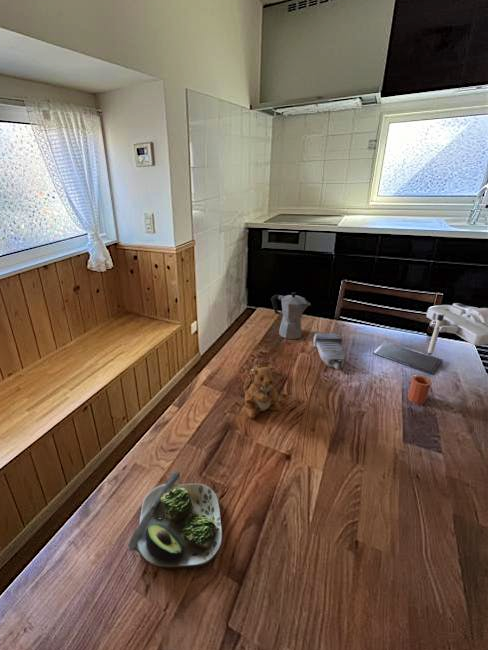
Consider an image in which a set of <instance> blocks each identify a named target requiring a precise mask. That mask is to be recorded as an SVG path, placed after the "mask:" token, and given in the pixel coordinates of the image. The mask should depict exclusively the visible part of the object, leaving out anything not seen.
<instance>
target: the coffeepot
mask: <svg viewBox="0 0 488 650" xmlns="http://www.w3.org/2000/svg"><path fill="white" fill-rule="evenodd" d="M296 294H297V293H296V292H294V291H293V292H292V291H291V294H287V295H282V294H281V295H280V294H274V295H273V296H272V297H270V301H271V304H272V307H273V312H274V313H275V314H276V315H280V314H282V318H281V323H280V326H279V330H278V335H279V336H280V337H282V338H283V337H284V339H286V340H298V339H300V338H302V337H303V335H302V322H301V318H302V317H303V314H304V311H305V310H306V309H307V308H308V307H309V306H310V307H311V302H309V301H308V300H306V298H305V297H302V296H300V295H296ZM277 300H278V301H280V302H281V311H282V313H281V311H278V306H277Z"/></svg>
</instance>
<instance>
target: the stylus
mask: <svg viewBox="0 0 488 650" xmlns="http://www.w3.org/2000/svg"><path fill="white" fill-rule="evenodd" d="M443 318H444V313H439V314H438V318H437V321H436V325H435V328H433V332H432V335H431V339H430V342H429V346H428V350H427V353H428V354H427V355H430V356H432V354H434V351H435V348H436V344H437V341H438V337H439V334H440V331H438V330H437V326H438V325H441V324H442V321H443Z"/></svg>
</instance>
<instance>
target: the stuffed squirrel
mask: <svg viewBox="0 0 488 650" xmlns="http://www.w3.org/2000/svg"><path fill="white" fill-rule="evenodd" d="M274 368H275V367H274V365H270V366H269V367H268V366H264V365H262V364H260V363H259V364H255V365H254V366H253V367H252V369H251V370H250V371H249V373H248V375H247V377H246V378H245V381H244V382H243V392H244V407H245V412H246V414H247V415H248V417H249V418H250V419H255V418H256V417H257V416H258V414H259V413H260V412H264V411H266V410H267V409H268V410H270V411H279V412H280V411H281V410H282V406H281V405H280V404H279V399H280V397H279V394H278V392H277V391H276V389H275V387H273V386H274V385H276V386H278V385H280V383H279V382H278V381H275V380H274V376H273V372H272V371H273V370H274Z"/></svg>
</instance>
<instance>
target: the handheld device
mask: <svg viewBox="0 0 488 650" xmlns="http://www.w3.org/2000/svg"><path fill="white" fill-rule="evenodd" d="M312 341H313V348H314V349H317V353H318V355H319V357H320V359H321V360H322V362H323V364H325V365H326V366H327V367H328V368H334V369H335V370H337V371H340V370H341V369H342V368H344V367H345V365H346V363H347V352H346V351H345V348H344V346H343V345H342V344H343V338H342V337H341V335H339V334H336V333H325V332H324V333H322V332H321V333H319V332H318V333H315V334H314V336H313V340H312Z"/></svg>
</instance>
